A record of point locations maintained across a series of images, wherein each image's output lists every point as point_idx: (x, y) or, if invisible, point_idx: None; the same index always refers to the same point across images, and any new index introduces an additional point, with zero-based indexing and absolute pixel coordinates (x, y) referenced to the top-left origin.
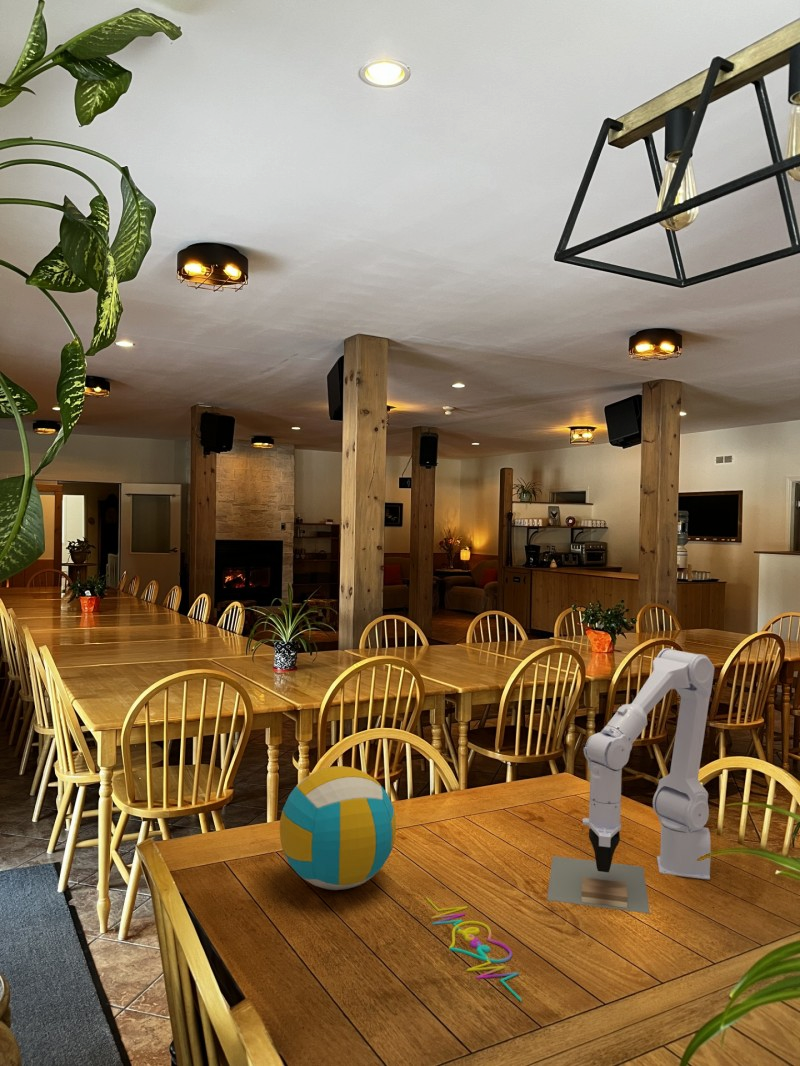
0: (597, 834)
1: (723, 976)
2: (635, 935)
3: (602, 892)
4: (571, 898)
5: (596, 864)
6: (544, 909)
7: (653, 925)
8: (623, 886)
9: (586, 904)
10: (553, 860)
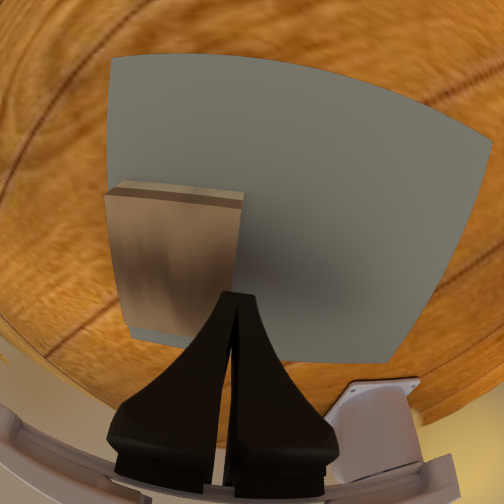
0: (11, 456)
1: (27, 352)
2: (43, 286)
3: (121, 266)
4: (139, 144)
5: (217, 306)
6: (70, 61)
7: (96, 327)
8: (191, 331)
9: None
10: (468, 132)
